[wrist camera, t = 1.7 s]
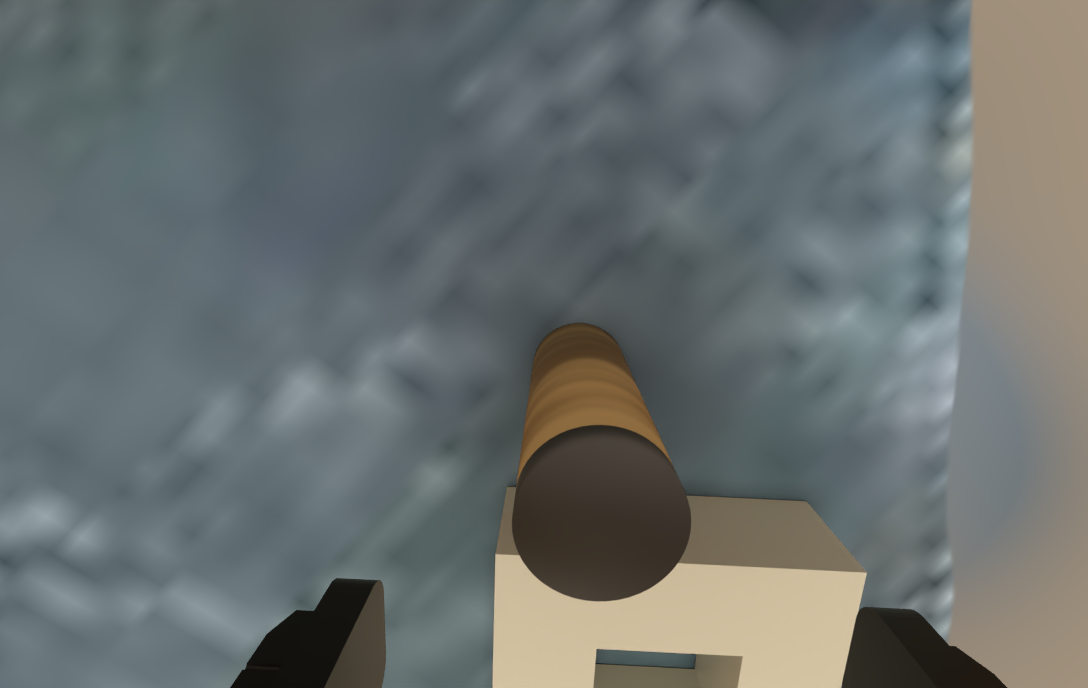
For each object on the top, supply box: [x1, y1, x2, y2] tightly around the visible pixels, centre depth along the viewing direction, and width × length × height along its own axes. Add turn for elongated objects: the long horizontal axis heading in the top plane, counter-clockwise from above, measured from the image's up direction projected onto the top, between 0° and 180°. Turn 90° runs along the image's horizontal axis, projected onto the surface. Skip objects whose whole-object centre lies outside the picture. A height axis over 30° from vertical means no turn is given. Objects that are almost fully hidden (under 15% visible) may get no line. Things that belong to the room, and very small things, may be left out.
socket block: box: [493, 487, 867, 688], centre depth 24 cm, size 14×14×5 cm
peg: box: [512, 323, 691, 601], centre depth 18 cm, size 4×4×12 cm
